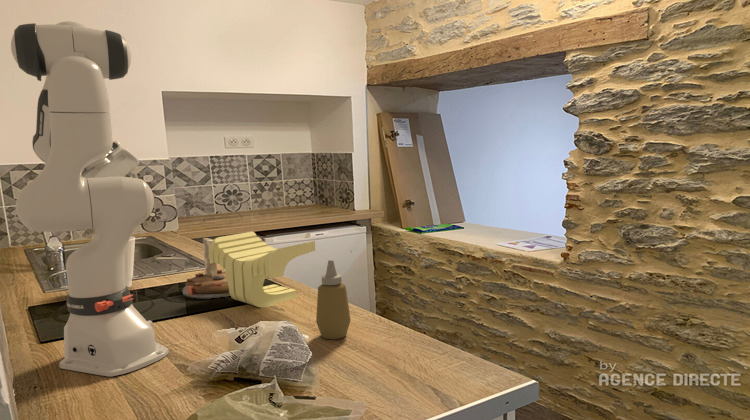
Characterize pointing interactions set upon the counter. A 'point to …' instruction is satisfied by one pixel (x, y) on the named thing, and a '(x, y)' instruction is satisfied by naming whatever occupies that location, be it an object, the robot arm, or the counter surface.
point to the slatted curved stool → (255, 267)
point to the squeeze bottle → (332, 305)
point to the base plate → (189, 292)
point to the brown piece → (209, 276)
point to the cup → (129, 261)
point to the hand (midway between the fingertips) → (129, 193)
